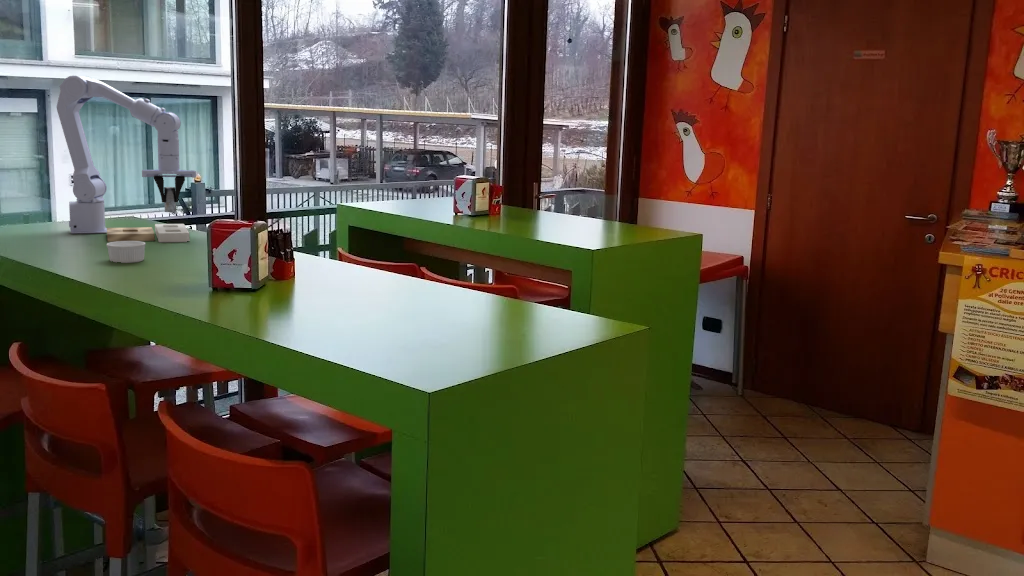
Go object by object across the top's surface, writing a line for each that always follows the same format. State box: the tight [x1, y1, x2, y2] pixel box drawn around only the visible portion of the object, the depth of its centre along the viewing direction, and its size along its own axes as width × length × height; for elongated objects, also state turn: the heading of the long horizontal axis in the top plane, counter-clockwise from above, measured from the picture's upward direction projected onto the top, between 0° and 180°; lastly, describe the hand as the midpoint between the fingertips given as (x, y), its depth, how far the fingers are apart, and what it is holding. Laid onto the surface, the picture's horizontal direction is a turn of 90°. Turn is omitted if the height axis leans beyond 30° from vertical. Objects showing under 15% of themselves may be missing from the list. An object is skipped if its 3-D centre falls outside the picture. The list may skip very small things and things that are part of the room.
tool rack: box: [154, 223, 190, 243], centre depth 261 cm, size 8×18×2 cm, turn 24°
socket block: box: [106, 226, 156, 242], centre depth 257 cm, size 12×12×2 cm
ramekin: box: [106, 241, 146, 264], centre depth 224 cm, size 9×9×4 cm
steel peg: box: [164, 186, 177, 213], centre depth 263 cm, size 3×3×7 cm
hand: (169, 202), depth 263 cm, fingers closed on steel peg, 3 cm apart
